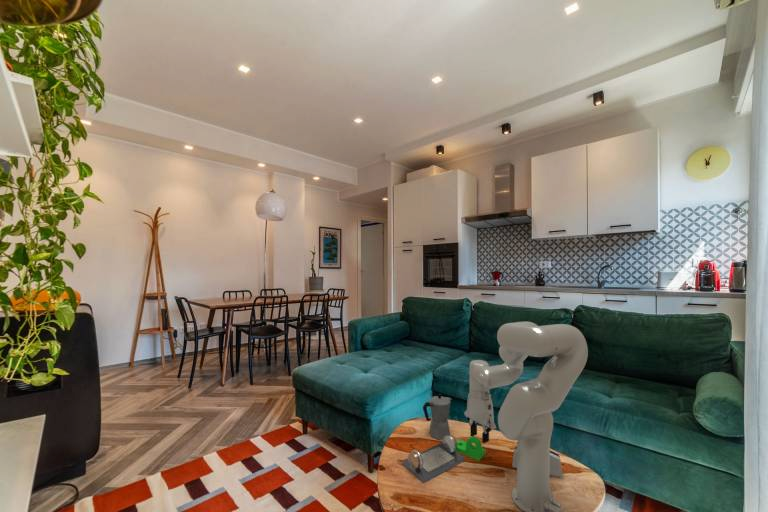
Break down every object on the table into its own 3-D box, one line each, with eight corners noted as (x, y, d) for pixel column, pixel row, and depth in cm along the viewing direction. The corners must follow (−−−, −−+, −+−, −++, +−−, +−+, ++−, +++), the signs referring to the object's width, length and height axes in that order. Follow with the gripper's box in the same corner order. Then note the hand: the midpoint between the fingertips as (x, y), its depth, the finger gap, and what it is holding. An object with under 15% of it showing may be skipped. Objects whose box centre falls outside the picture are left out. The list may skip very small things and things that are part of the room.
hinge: (560, 472, 119) (561, 446, 118) (563, 482, 115) (563, 456, 114) (511, 462, 125) (512, 437, 124) (512, 471, 121) (512, 446, 119)
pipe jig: (442, 445, 135) (442, 428, 135) (464, 461, 125) (464, 441, 125) (402, 464, 123) (402, 444, 123) (423, 482, 113) (423, 461, 113)
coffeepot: (444, 425, 151) (444, 387, 151) (458, 435, 143) (458, 394, 143) (417, 434, 144) (417, 393, 144) (429, 445, 136) (429, 402, 136)
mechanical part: (485, 454, 130) (485, 434, 130) (479, 462, 125) (479, 441, 125) (458, 443, 137) (458, 424, 137) (451, 450, 133) (451, 430, 133)
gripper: (503, 397, 124) (504, 445, 124) (468, 383, 138) (469, 426, 138) (491, 403, 120) (491, 452, 119) (456, 387, 134) (456, 432, 133)
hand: (479, 438), depth 129 cm, fingers open, 5 cm apart
